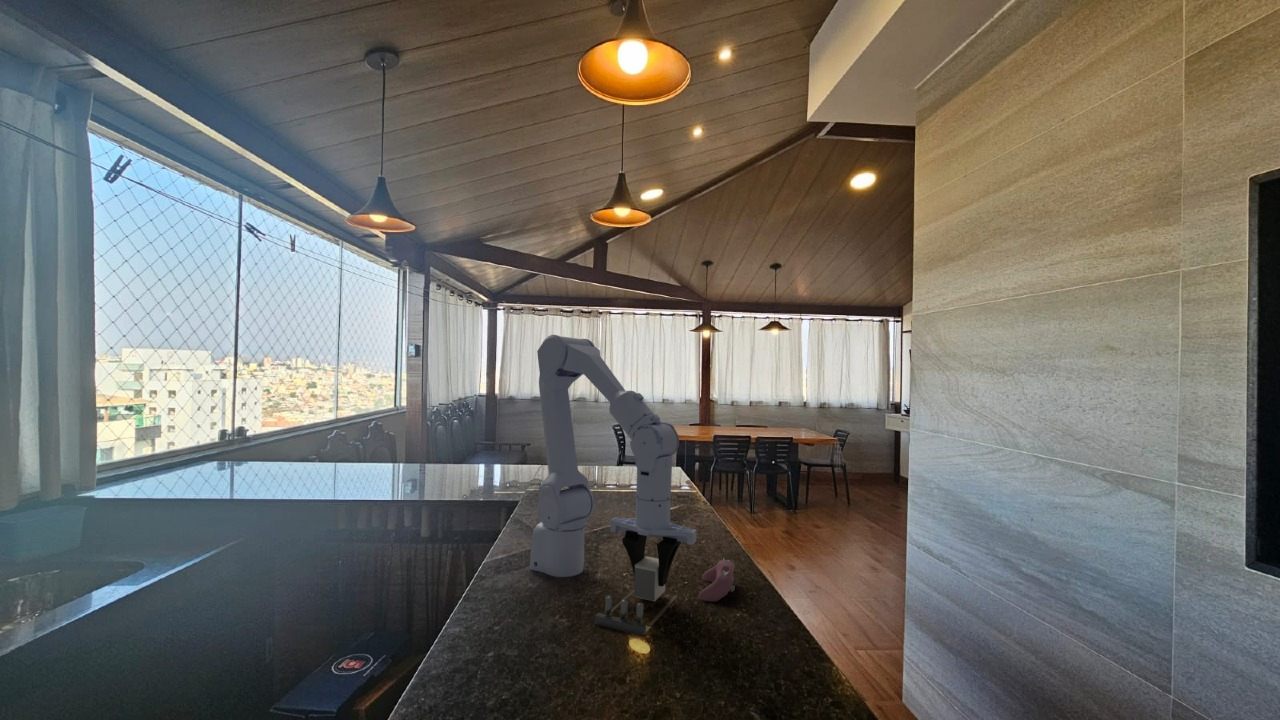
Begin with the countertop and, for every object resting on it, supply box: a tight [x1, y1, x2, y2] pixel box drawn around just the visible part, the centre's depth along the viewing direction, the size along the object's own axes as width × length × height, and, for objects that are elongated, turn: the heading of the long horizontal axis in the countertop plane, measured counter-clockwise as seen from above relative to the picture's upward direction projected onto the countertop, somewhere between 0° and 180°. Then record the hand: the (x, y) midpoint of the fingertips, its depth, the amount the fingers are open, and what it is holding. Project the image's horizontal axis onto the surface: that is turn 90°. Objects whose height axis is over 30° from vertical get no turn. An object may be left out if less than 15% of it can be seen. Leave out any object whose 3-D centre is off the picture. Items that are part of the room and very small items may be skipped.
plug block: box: [633, 556, 666, 602], centre depth 82 cm, size 4×5×5 cm
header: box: [594, 594, 647, 637], centre depth 73 cm, size 8×2×4 cm, turn 66°
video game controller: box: [697, 557, 736, 603], centre depth 87 cm, size 10×5×7 cm, turn 169°
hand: (650, 581), depth 82 cm, fingers closed on plug block, 4 cm apart
